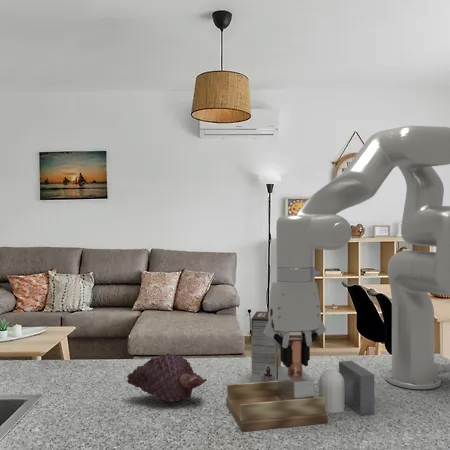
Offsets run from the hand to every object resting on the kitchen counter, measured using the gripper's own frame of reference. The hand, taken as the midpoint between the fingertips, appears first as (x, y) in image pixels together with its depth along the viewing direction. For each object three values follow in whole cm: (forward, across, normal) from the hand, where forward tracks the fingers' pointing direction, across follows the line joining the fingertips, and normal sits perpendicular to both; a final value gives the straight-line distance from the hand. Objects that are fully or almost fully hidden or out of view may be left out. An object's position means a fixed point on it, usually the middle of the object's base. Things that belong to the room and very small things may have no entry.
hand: (295, 364), depth 102 cm
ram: (+8, 0, 0) cm, 8 cm away
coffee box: (+10, 0, -20) cm, 22 cm away
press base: (+10, +4, 0) cm, 11 cm away
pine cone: (+10, +25, -12) cm, 29 cm away
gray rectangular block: (+10, -14, 0) cm, 17 cm away
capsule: (+10, -8, 0) cm, 13 cm away
